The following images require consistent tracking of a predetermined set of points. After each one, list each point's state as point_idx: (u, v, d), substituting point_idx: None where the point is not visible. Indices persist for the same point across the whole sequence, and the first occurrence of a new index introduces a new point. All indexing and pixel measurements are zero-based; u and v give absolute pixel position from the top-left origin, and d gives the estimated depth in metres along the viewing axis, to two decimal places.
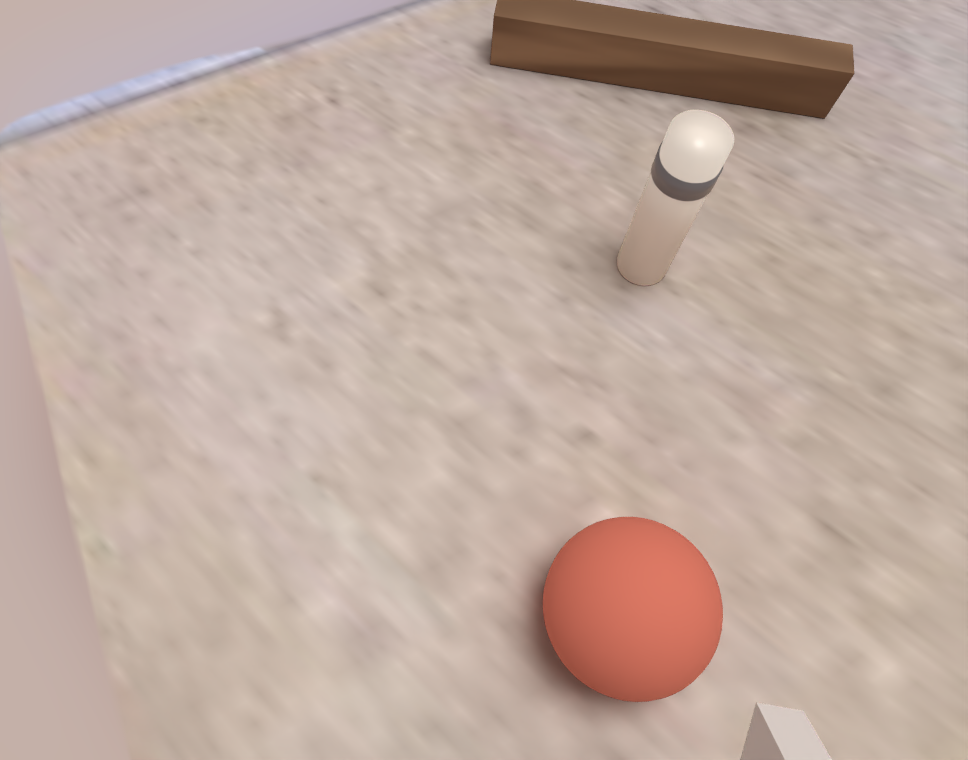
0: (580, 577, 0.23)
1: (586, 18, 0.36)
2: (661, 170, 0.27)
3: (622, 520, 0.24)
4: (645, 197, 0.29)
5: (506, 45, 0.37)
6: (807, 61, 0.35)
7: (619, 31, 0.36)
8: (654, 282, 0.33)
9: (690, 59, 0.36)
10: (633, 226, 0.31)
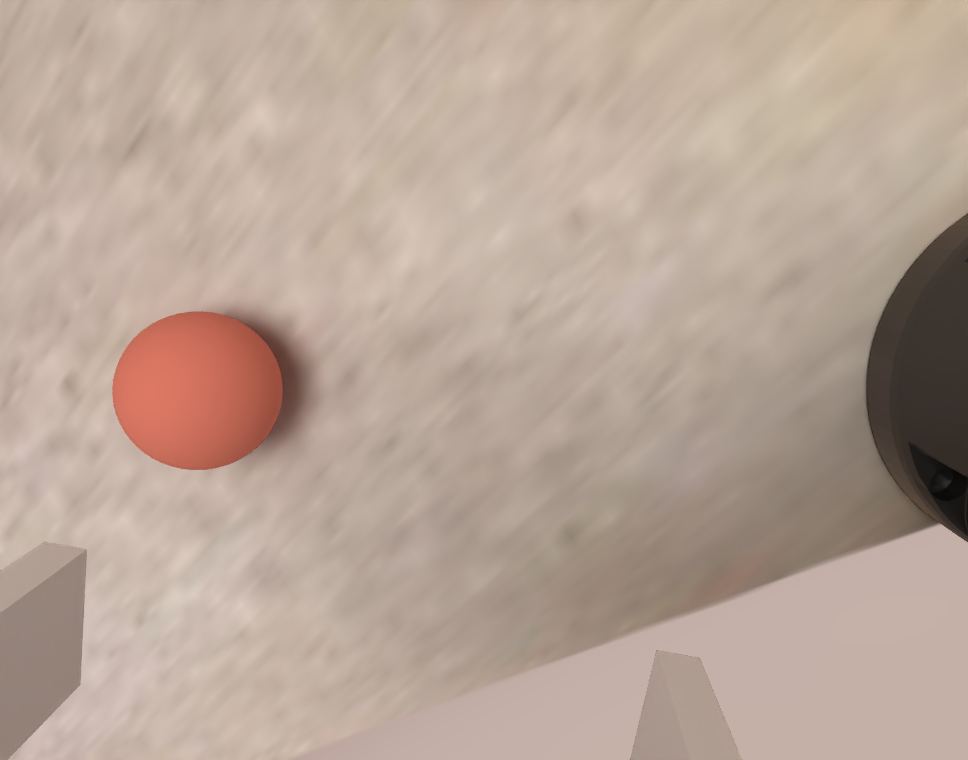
0: (162, 459, 0.26)
1: None
2: None
3: (115, 408, 0.26)
4: None
5: None
6: None
7: None
8: None
9: None
10: None
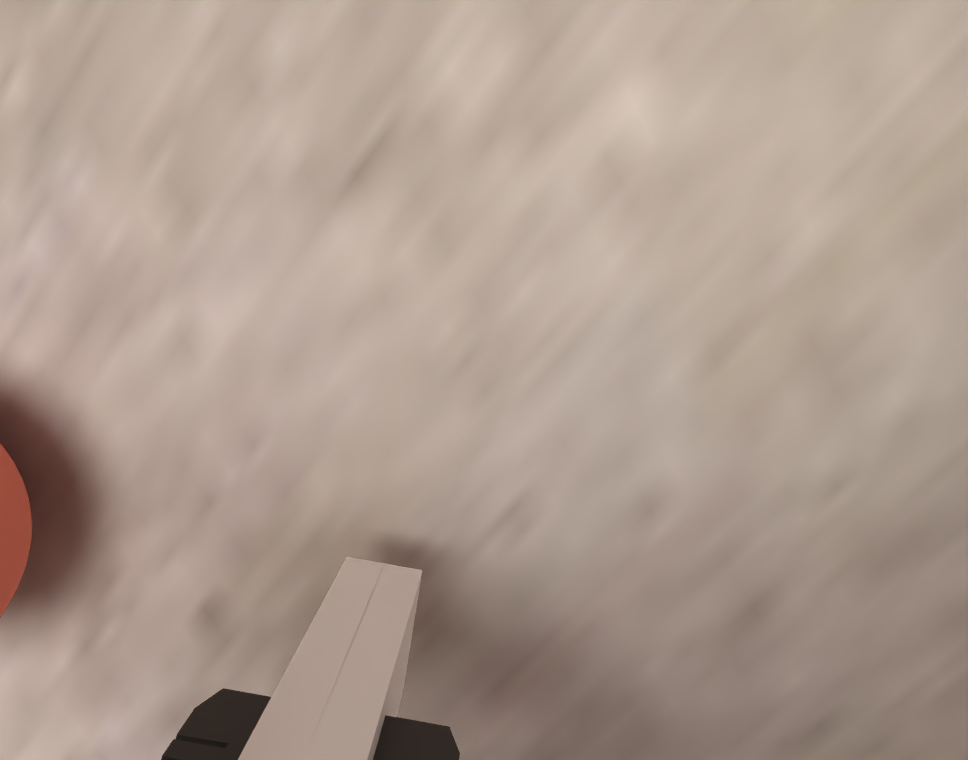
0: None
1: None
2: None
3: None
4: None
5: None
6: None
7: None
8: None
9: None
10: None
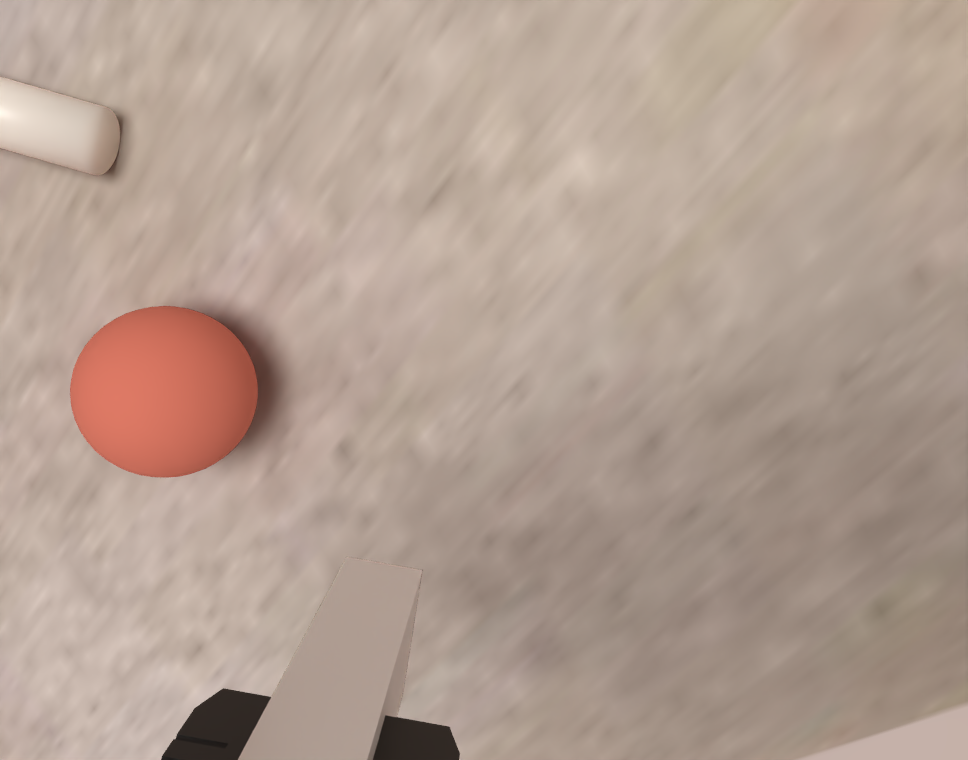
0: None
1: None
2: None
3: (228, 435, 0.24)
4: None
5: None
6: None
7: None
8: (98, 105, 0.25)
9: None
10: None
